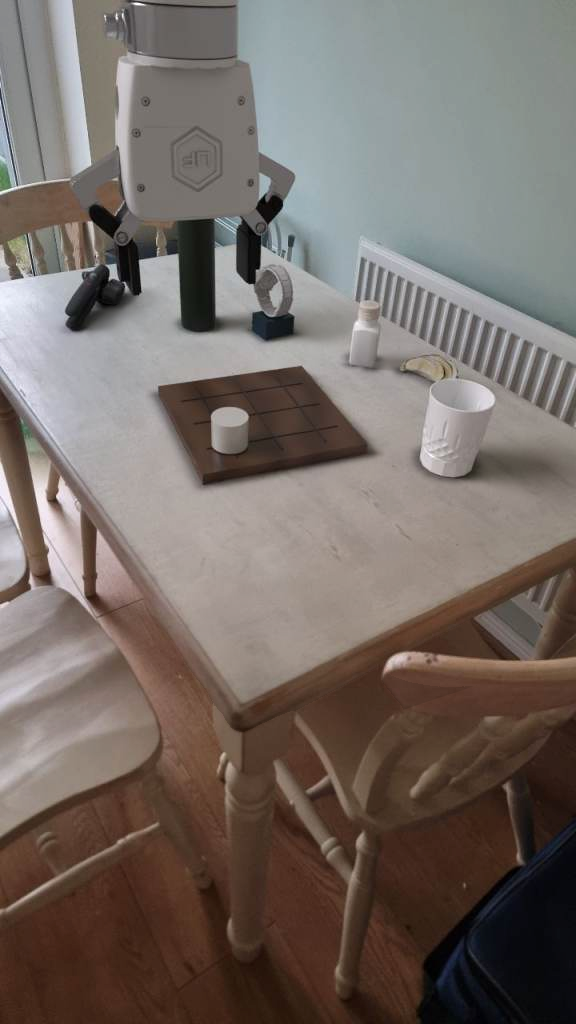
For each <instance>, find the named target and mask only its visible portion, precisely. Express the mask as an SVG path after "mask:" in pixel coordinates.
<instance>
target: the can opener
mask: <svg viewBox="0 0 576 1024" xmlns="http://www.w3.org/2000/svg"><path fill="white" fill-rule="evenodd" d="M110 276H111V270H110V268H109V266H106V265H105V264H99V265H97V266H95V268H94V269H93V270H90V271H89V270H88V271H87V270H85V271H82V272H81V279H82V282H81V284H80V285H79V286H78V288H77V289H76V291H74V293H73V294H72V296H71V298H70V299H69V301H68V303H67V305H66V307H65V308H64V314H65V315H66V316H68V318H67V320H66V322H65V324H64V325H65V327H66V328H68V329H69V330H77V329H79V328H80V327H81V326H82V325H83V323H84V322H85V321H86V320H87V318H88V317H89V315H90V313H92V311H93V308H94V307H95V306H96V304H97V303H98V301H100V300H101V303H102V304H106V305H107V304H108V305H117V304H118V303H119V302H120V301H121V300H122V298H123V297H124V294H125V291H126V283H125V282H120V281H119V279H115V278H110Z"/></svg>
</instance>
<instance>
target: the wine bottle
mask: <svg viewBox="0 0 576 1024" xmlns="http://www.w3.org/2000/svg"><path fill="white" fill-rule="evenodd" d="M215 220H216V218H211V219H196V220H180V221H176V235H177V236H176V237H177V256H178V258H177V259H178V274H179V275H178V278H179V301H180V303H179V304H180V324H181V327H182V328H183V329H185V330H187V331H191V332H198V333H199V332H201V333H202V332H208V331H210V330H213V329H214V328H215V327H216V325H217V319H216V317H217V313H216V311H217V309H216V307H217V306H216V225H215V224H216V223H215V222H216V221H215Z"/></svg>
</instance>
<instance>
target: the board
mask: <svg viewBox="0 0 576 1024" xmlns="http://www.w3.org/2000/svg"><path fill="white" fill-rule="evenodd" d="M157 392H158V393H157V394H158V397H159V399H160V401H161V403H162V405H163V407H164V409H165V411H166V413H167V415H168V417H169V419H170V421H171V424H172V425H173V427H174V429H175V431H176V433H177V435H178V437H179V440H180V441H181V443H182V445H183V447H184V449H185V451H186V453H187V456H188V458H189V459H190V461H191V464H192V466H193V468H194V470H195V471H196V473H197V475H198V478H199V480H200V481H201V484H202V485H208V484H213V483H218V482H224V481H229V480H235V479H240V478H244V477H250V476H255V475H260V474H261V475H262V474H265V473H270V472H276V471H281V470H286V469H292V468H295V467H301V466H307V465H312V464H318V463H323V462H327V461H334V460H339V459H344V458H349V457H354V456H359V455H364V454H367V450H368V442H367V441H366V440H365V439H364V437H362V435H361V434H360V433H359V431H358V430H357V429H356V428H355V427H354V426H353V425H352V423H351V422H350V421H349V420H348V418H347V417H346V416H345V415H344V413H342V411H341V410H340V409H339V408H338V407H337V406H336V405H335V404H334V402H333V401H332V399H331V398H330V397H329V396H328V395H327V394H326V393H325V391H324V390H323V389H322V388H321V387H320V386H319V384H318V383H317V382H316V381H315V380H314V379H313V377H312V376H311V375H310V374H309V373H308V371H307V370H306V369H305V368H304V366H303V365H296V366H290V367H283V368H275V369H269V370H268V369H267V370H261V371H255V372H254V371H253V372H248V373H240V374H234V375H226V376H219V377H212V378H205V379H199V380H192V381H185V382H183V381H182V382H177V383H170V384H164V385H158V386H157ZM223 407H236V408H240V409H242V410H244V411H245V412H246V413H247V414H248V416H249V429H248V447H247V448H246V449H245V450H244V451H242V452H240V453H236V454H224V453H220V452H218V451H216V450H215V449H214V448H213V447H212V444H211V415H212V413H213V412H214V411H215V410H217V409H219V408H223Z"/></svg>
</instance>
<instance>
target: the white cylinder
mask: <svg viewBox="0 0 576 1024" xmlns="http://www.w3.org/2000/svg"><path fill="white" fill-rule="evenodd" d="M248 429H249V416H248V414H247V413H246V412H245V411H244V410H242V409H240V408H236V407H223V408H219V409H217V410H215V411H214V412H213V413H212V415H211V444H212V447H213V448H214V449H215V450H216V451H218V452H220V453H224V454H236V453H240V452H242V451H244V450H245V449H246V448H247V447H248Z"/></svg>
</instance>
